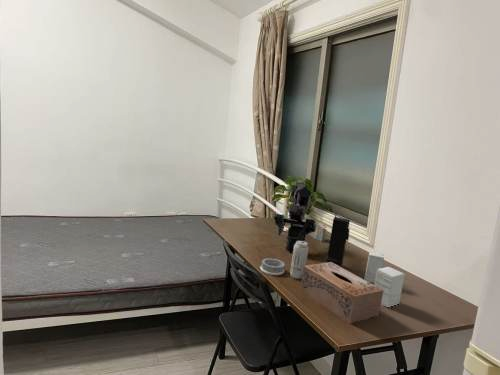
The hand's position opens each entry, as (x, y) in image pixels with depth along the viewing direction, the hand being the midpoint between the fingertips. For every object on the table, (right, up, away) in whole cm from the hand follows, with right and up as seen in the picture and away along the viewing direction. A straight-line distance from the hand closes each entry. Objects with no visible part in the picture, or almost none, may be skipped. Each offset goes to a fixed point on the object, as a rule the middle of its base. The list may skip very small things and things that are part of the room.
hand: (288, 236), depth 158 cm
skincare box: (+36, -19, -1) cm, 41 cm away
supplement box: (+35, -22, -20) cm, 46 cm away
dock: (-7, -14, -2) cm, 16 cm away
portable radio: (+23, -15, +13) cm, 31 cm away
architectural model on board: (+22, -9, +53) cm, 58 cm away
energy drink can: (+3, -16, -5) cm, 17 cm away
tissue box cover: (+15, -21, -24) cm, 35 cm away
